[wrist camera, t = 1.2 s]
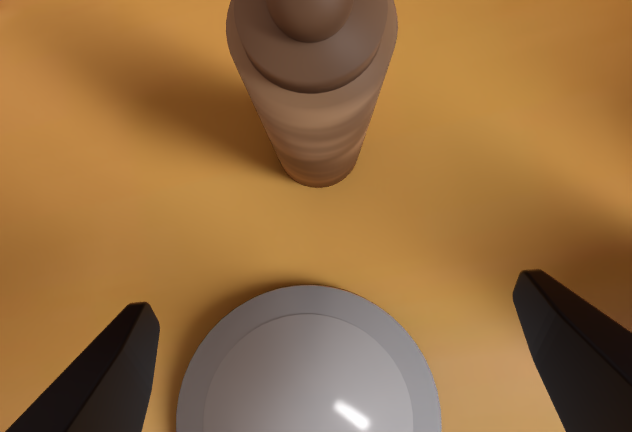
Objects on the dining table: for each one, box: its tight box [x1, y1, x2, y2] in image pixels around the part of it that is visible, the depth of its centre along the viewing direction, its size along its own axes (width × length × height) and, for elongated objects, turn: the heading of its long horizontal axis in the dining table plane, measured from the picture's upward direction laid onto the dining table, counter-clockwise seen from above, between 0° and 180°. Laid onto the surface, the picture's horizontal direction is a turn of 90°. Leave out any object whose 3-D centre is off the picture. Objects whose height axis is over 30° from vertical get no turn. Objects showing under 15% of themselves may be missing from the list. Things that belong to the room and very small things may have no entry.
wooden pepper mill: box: [226, 0, 398, 188], centre depth 16 cm, size 5×5×15 cm
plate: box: [176, 285, 441, 432], centre depth 21 cm, size 14×14×1 cm
